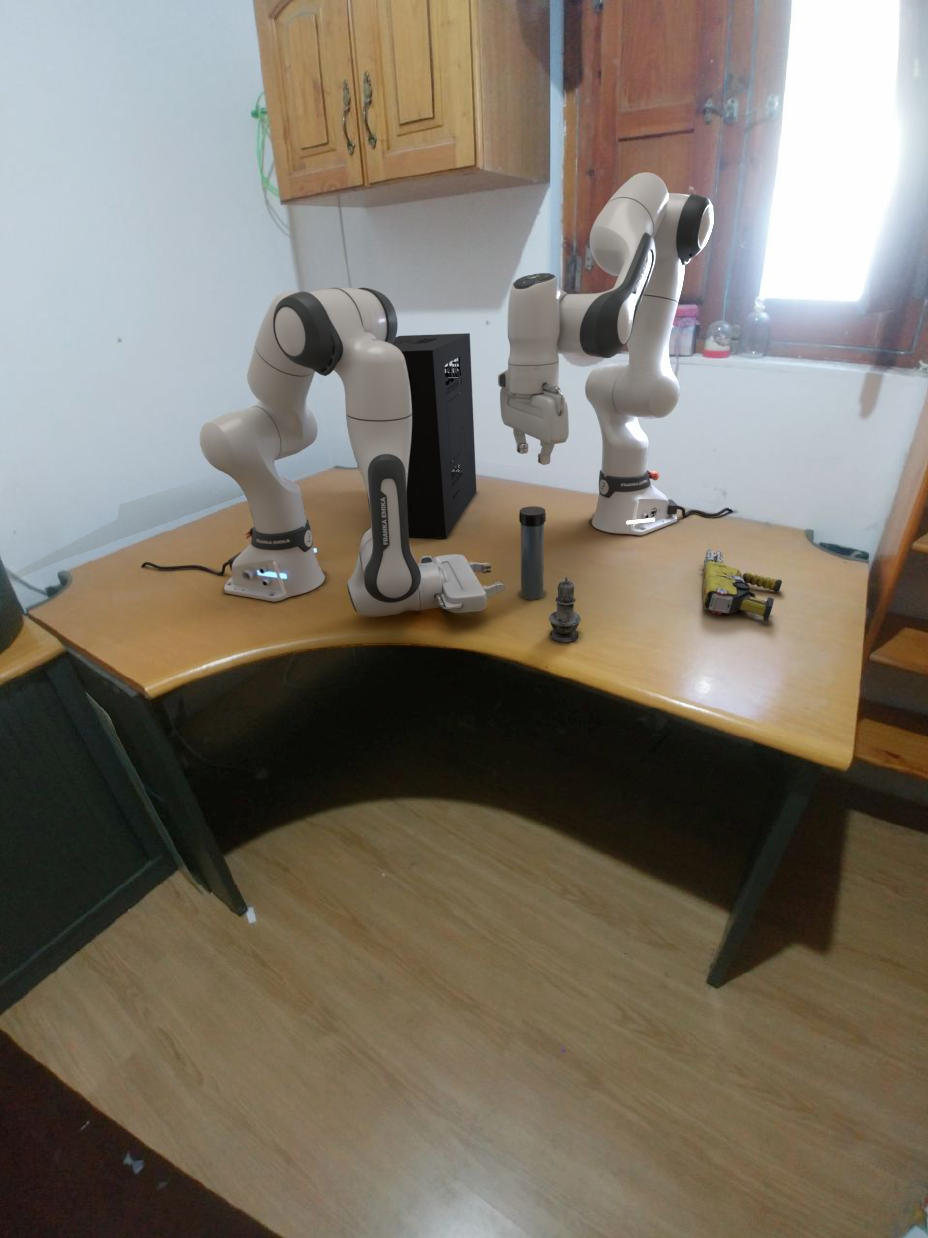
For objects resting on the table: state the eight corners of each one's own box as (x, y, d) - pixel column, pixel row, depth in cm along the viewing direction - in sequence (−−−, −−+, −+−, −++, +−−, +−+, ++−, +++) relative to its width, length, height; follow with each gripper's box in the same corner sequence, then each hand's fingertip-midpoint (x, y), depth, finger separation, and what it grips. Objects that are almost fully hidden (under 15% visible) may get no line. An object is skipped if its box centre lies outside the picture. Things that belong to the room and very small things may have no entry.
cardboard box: (446, 538, 156) (432, 350, 134) (372, 535, 161) (348, 352, 138) (476, 491, 188) (469, 333, 165) (414, 490, 192) (399, 335, 170)
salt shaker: (579, 643, 110) (582, 585, 104) (547, 641, 111) (548, 583, 105) (580, 627, 115) (583, 570, 109) (549, 625, 116) (551, 569, 110)
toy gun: (779, 558, 129) (706, 546, 133) (794, 606, 109) (707, 591, 113) (773, 578, 131) (701, 566, 135) (786, 629, 111) (701, 613, 115)
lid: (524, 527, 117) (524, 516, 116) (515, 519, 121) (515, 508, 120) (549, 524, 118) (549, 512, 117) (539, 515, 122) (539, 504, 121)
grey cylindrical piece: (525, 601, 125) (525, 518, 116) (517, 591, 129) (517, 510, 120) (546, 597, 126) (548, 514, 117) (538, 587, 130) (539, 507, 121)
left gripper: (439, 595, 111) (511, 584, 113) (420, 553, 128) (483, 544, 130) (441, 625, 114) (512, 613, 116) (423, 579, 131) (484, 570, 134)
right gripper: (579, 385, 99) (576, 469, 106) (523, 371, 115) (523, 444, 122) (545, 390, 97) (544, 474, 104) (493, 375, 114) (495, 448, 121)
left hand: (496, 576), depth 123 cm, fingers open, 8 cm apart
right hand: (532, 458), depth 113 cm, fingers open, 7 cm apart
